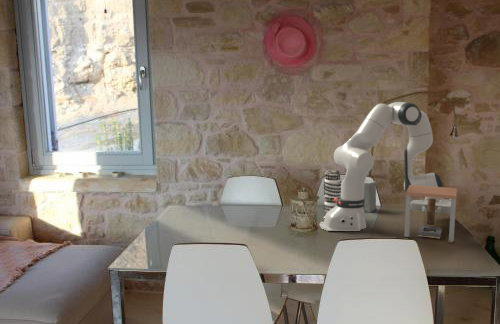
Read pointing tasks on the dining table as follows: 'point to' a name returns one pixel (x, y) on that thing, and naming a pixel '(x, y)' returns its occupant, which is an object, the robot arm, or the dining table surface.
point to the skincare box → (370, 195)
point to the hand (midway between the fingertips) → (431, 210)
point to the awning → (436, 193)
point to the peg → (431, 211)
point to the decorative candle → (331, 189)
